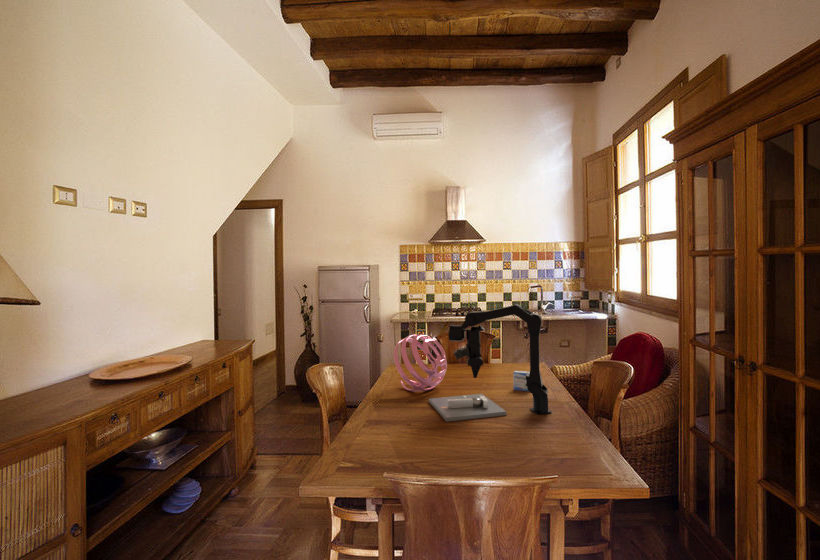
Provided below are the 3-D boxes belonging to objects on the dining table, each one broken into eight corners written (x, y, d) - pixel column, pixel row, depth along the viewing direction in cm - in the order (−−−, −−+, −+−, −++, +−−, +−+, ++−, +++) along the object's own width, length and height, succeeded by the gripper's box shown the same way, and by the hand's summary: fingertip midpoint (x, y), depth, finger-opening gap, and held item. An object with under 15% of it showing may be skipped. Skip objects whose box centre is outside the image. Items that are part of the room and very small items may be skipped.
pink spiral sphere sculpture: (372, 348, 214) (408, 320, 200) (411, 353, 233) (446, 328, 219) (387, 401, 199) (426, 375, 185) (427, 401, 218) (465, 378, 204)
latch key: (483, 402, 180) (483, 395, 180) (488, 408, 173) (488, 400, 173) (446, 404, 178) (446, 397, 178) (449, 410, 171) (449, 402, 171)
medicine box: (513, 390, 204) (512, 372, 203) (515, 387, 208) (515, 369, 207) (530, 391, 200) (529, 373, 200) (532, 389, 204) (531, 371, 204)
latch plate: (506, 415, 169) (506, 411, 169) (446, 421, 164) (446, 417, 164) (481, 396, 194) (481, 393, 194) (428, 402, 188) (428, 398, 188)
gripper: (454, 338, 191) (455, 372, 191) (454, 345, 172) (456, 384, 173) (479, 337, 190) (481, 372, 190) (482, 345, 171) (483, 383, 172)
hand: (475, 377), depth 181 cm, fingers closed
